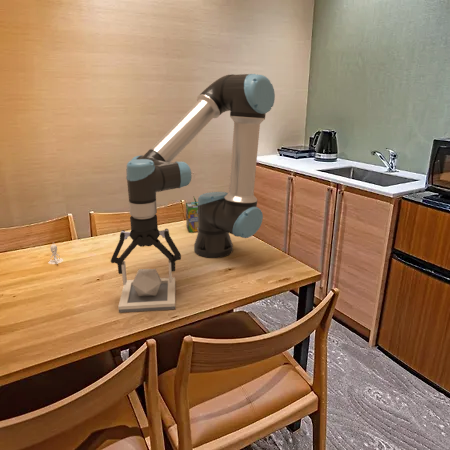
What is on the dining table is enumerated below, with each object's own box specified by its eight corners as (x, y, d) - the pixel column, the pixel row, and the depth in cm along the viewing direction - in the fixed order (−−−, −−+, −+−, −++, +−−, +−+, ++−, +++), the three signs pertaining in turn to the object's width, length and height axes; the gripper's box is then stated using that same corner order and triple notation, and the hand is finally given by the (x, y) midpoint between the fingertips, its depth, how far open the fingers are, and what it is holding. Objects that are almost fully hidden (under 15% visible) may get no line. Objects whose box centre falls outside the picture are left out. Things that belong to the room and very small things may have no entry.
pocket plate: (175, 283, 128) (175, 277, 127) (175, 309, 113) (175, 303, 112) (125, 285, 126) (124, 280, 125) (118, 312, 111) (118, 306, 111)
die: (149, 306, 114) (166, 277, 114) (124, 291, 114) (141, 262, 114) (153, 301, 122) (168, 274, 123) (129, 287, 122) (145, 260, 122)
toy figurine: (62, 257, 147) (59, 238, 144) (66, 265, 140) (63, 246, 138) (46, 260, 144) (43, 241, 142) (50, 268, 138) (47, 249, 135)
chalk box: (209, 231, 173) (208, 199, 168) (188, 233, 171) (187, 200, 166) (205, 224, 181) (205, 193, 176) (186, 225, 180) (185, 194, 175)
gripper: (187, 209, 116) (188, 273, 123) (100, 212, 113) (107, 277, 120) (188, 217, 109) (189, 285, 116) (95, 220, 106) (103, 289, 113)
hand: (148, 281), depth 118 cm, fingers open, 13 cm apart
